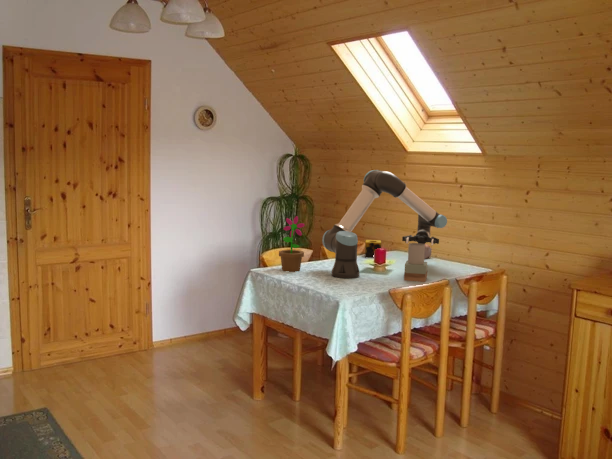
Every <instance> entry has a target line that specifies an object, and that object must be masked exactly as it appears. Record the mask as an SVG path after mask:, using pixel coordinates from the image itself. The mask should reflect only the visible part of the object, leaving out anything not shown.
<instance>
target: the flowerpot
mask: <svg viewBox="0 0 612 459" xmlns="http://www.w3.org/2000/svg"><path fill="white" fill-rule="evenodd" d="M285 221H286V223H287V224H288V225H287V226H286V225H285V226H284V227H283V230H284V231H286V232H287V231H290V232H289V236H284V237H283V238H282V240H283V242H284V243H290V249H283V250H282V249H281V250H279V251H278V256H279V257H280V262H281V263H280V264H281V271H283V272H286V271H289V272H288V273H296V272H295V271H298V272H300V271H301V265H302V259H303V257H305V252H304V250H299V249H298V248H300V245H298V244H295V243H294V242H293V240H294V236H295V233H296V234H297V236H300V237H301V236H302V235H303V233H302V231H301V230H300V228H303V227H305V223H303V222H302V223H298V222H299V216H297V215H296V216H295V217H294V218H293V221H292V220H291V219H290V218H288V217H286V218H285ZM293 248H294V249H293ZM296 249H297V250H296Z"/></svg>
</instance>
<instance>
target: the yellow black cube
mask: <svg viewBox="0 0 612 459" xmlns="http://www.w3.org/2000/svg"><path fill="white" fill-rule="evenodd" d="M364 245H365V247H364V248H365V250H364V253H365V254H364V257H365V258H366V257H373V255H374V251H375V249H377V248H381V249H382V240H380V239H365V244H364Z"/></svg>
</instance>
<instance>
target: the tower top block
mask: <svg viewBox="0 0 612 459" xmlns="http://www.w3.org/2000/svg"><path fill="white" fill-rule="evenodd" d="M426 271H427V272H428V261H424V264H410V263H408V260H406V262H404V272H405V273H417V274H426Z"/></svg>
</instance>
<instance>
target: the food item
mask: <svg viewBox="0 0 612 459" xmlns="http://www.w3.org/2000/svg"><path fill="white" fill-rule="evenodd" d="M424 245H425V250H424V260H426V259H427V258H431V256H432V247H431V245H429V244H427V243H425V244H424Z"/></svg>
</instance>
